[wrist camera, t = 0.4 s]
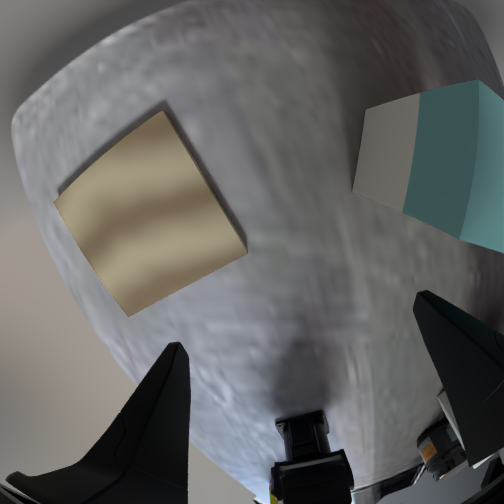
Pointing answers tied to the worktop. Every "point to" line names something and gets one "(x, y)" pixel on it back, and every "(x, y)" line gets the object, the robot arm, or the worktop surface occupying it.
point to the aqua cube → (460, 164)
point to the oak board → (148, 217)
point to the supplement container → (442, 451)
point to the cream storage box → (387, 151)
